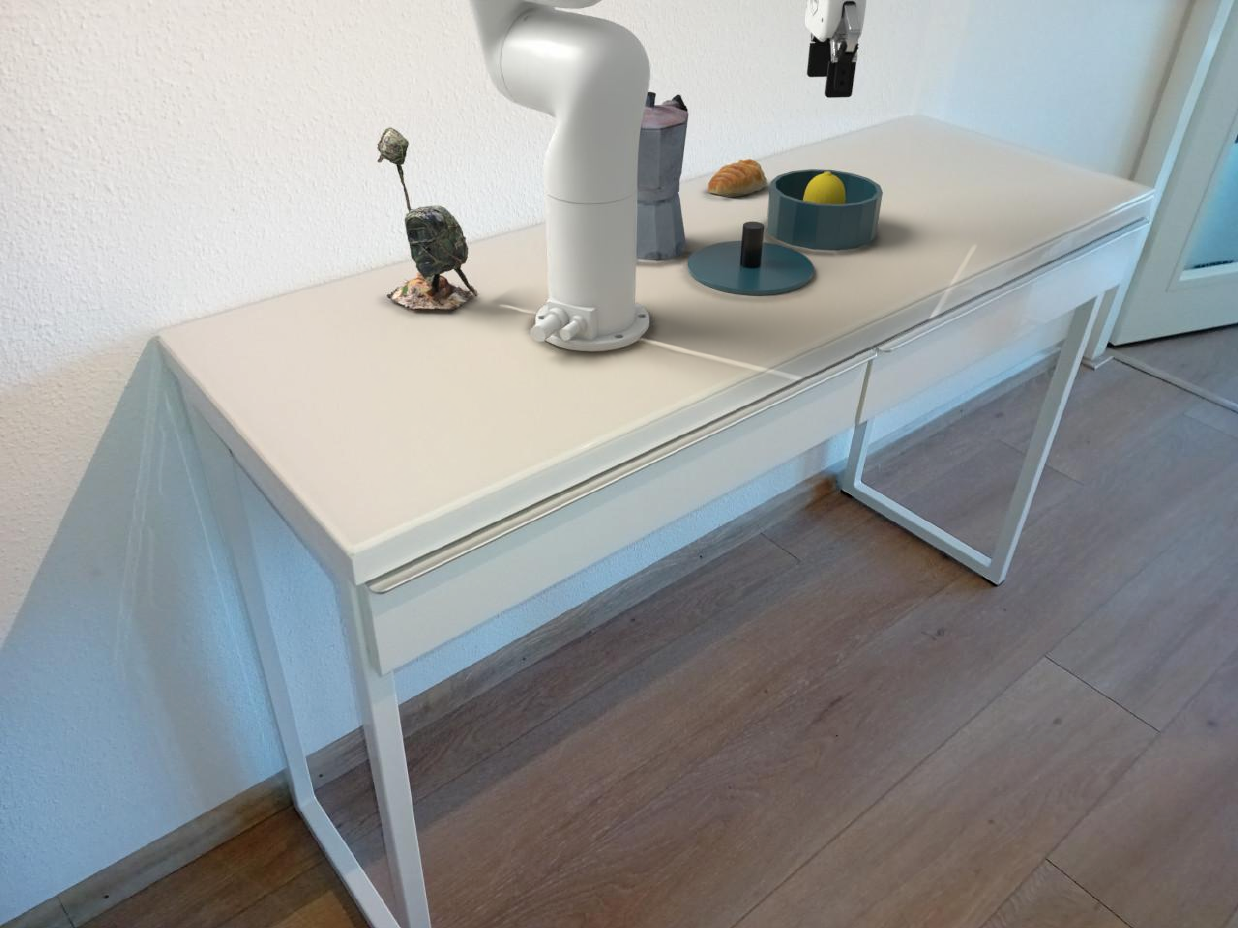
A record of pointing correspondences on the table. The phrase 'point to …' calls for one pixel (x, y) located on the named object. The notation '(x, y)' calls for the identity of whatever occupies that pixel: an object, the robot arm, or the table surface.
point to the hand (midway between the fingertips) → (828, 86)
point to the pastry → (738, 179)
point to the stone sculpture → (428, 244)
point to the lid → (750, 265)
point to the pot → (823, 212)
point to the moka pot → (660, 179)
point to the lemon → (825, 190)
